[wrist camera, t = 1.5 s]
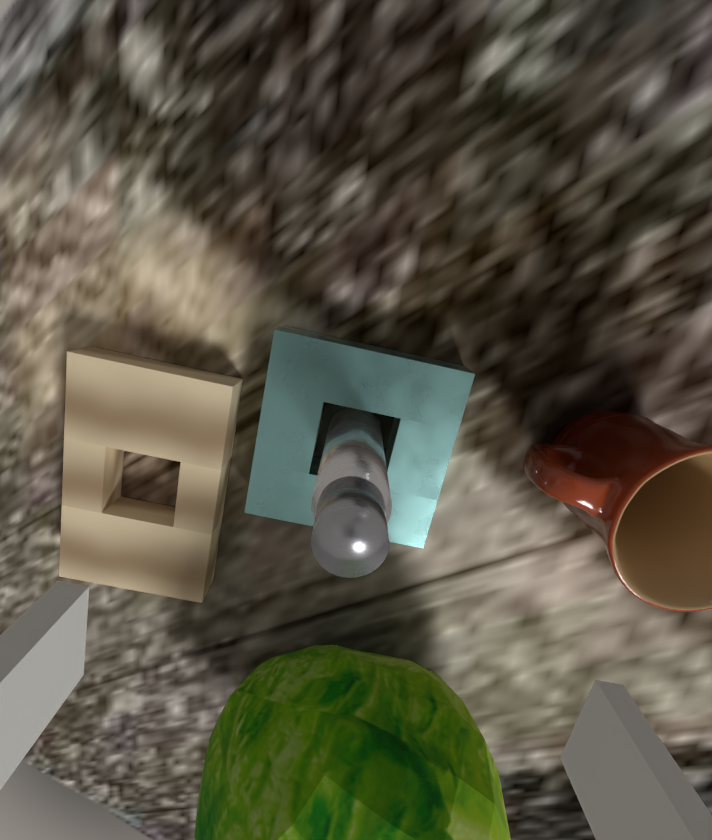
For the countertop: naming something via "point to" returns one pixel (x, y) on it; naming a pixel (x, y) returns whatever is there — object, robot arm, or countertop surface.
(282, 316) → the countertop surface
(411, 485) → the socket
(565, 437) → the mug
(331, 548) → the metal cylinder rod
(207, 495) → the wooden square-hole plate
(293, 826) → the lettuce
